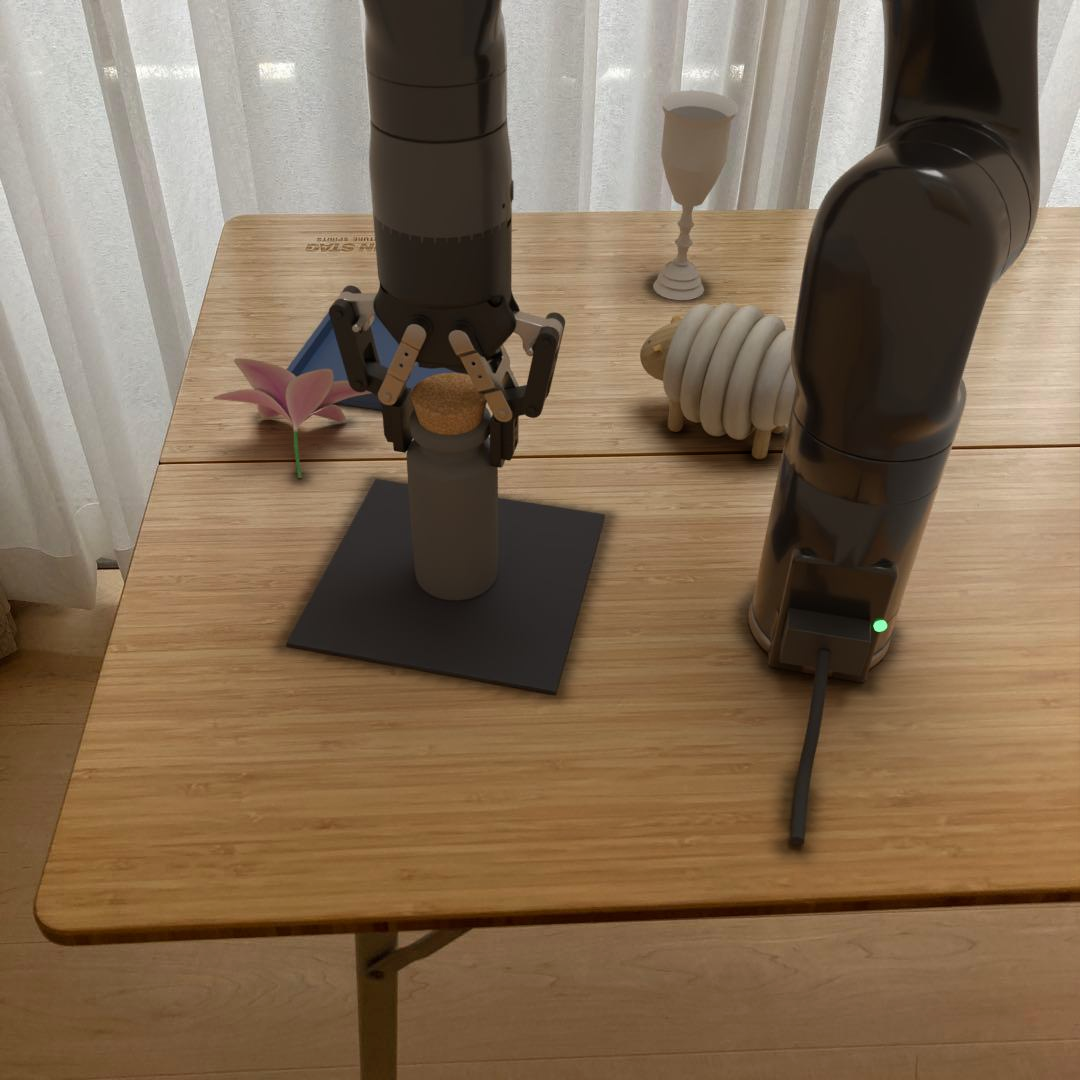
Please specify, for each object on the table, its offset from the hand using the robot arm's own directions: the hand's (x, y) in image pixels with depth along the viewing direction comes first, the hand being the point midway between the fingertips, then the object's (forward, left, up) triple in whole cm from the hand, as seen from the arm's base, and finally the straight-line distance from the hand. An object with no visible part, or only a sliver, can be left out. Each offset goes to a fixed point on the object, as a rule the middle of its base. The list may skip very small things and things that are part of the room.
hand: (452, 451), depth 71 cm
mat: (0, 0, -11) cm, 11 cm away
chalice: (+46, -10, -11) cm, 48 cm away
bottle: (0, 0, -11) cm, 11 cm away
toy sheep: (+22, -17, -11) cm, 30 cm away
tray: (+26, +13, -11) cm, 31 cm away
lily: (+12, +16, -11) cm, 23 cm away
